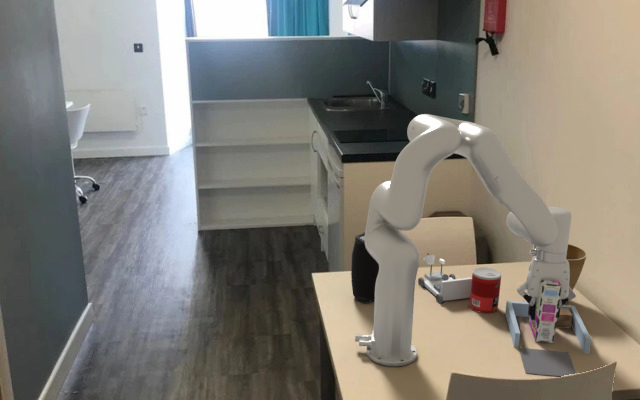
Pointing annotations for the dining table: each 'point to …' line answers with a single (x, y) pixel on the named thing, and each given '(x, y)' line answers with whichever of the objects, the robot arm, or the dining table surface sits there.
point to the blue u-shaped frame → (522, 310)
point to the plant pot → (574, 263)
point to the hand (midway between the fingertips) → (543, 317)
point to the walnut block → (564, 318)
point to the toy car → (445, 283)
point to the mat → (546, 362)
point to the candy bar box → (546, 311)
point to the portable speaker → (363, 271)
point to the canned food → (485, 290)
